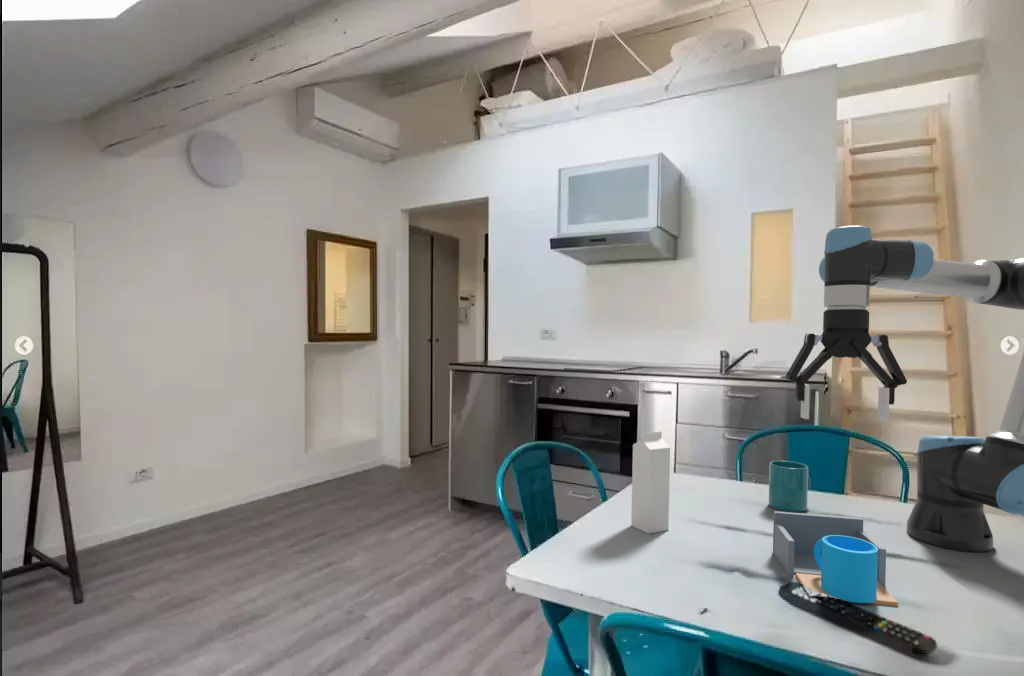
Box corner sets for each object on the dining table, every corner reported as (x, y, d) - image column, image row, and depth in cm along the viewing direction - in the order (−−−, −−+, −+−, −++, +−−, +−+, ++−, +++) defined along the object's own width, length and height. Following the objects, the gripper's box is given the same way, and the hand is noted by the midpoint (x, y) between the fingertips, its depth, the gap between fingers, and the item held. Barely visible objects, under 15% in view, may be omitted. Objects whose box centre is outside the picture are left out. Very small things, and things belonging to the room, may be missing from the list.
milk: (631, 525, 129) (632, 430, 129) (651, 522, 132) (652, 429, 131) (648, 534, 123) (649, 435, 123) (669, 530, 126) (670, 433, 126)
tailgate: (877, 581, 99) (898, 602, 91) (876, 587, 99) (898, 609, 91) (795, 572, 102) (809, 592, 94) (795, 579, 102) (809, 599, 94)
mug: (889, 601, 91) (890, 551, 91) (846, 605, 90) (847, 554, 90) (833, 570, 103) (835, 526, 103) (795, 573, 102) (796, 528, 102)
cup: (823, 509, 143) (824, 466, 143) (788, 514, 139) (789, 469, 139) (794, 499, 152) (795, 458, 151) (760, 503, 147) (761, 461, 147)
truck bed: (860, 563, 109) (861, 518, 109) (885, 588, 99) (886, 538, 99) (772, 555, 113) (773, 511, 113) (787, 578, 102) (788, 529, 102)
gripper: (910, 310, 107) (907, 420, 107) (771, 309, 112) (768, 413, 112) (930, 308, 100) (927, 426, 100) (780, 307, 105) (778, 419, 105)
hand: (843, 420), depth 106 cm, fingers open, 13 cm apart
